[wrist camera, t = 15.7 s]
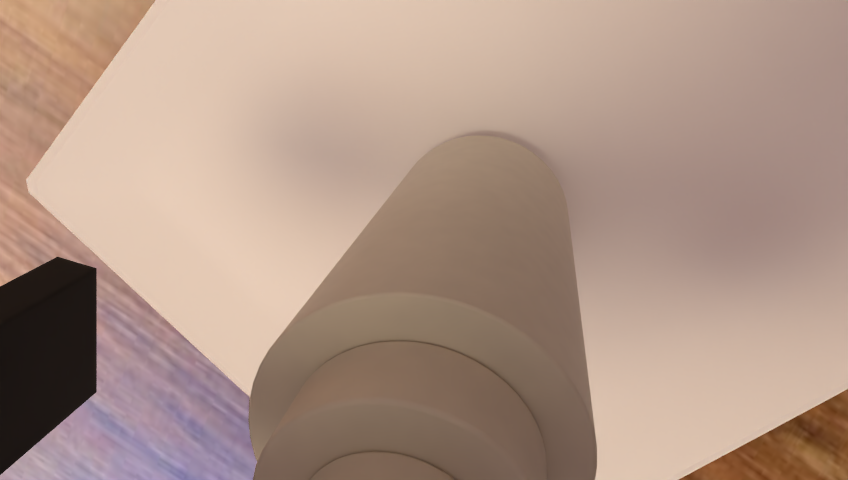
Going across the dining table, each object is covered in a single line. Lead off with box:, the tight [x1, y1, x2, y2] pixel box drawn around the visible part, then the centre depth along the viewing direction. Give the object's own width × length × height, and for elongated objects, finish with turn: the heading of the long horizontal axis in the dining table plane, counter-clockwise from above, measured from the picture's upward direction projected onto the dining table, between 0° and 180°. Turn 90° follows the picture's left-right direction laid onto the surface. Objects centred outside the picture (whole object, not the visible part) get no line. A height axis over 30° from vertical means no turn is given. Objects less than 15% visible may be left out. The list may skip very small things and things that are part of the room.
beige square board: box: [26, 0, 848, 480], centre depth 22 cm, size 26×26×2 cm
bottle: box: [249, 135, 597, 480], centre depth 14 cm, size 6×6×17 cm
